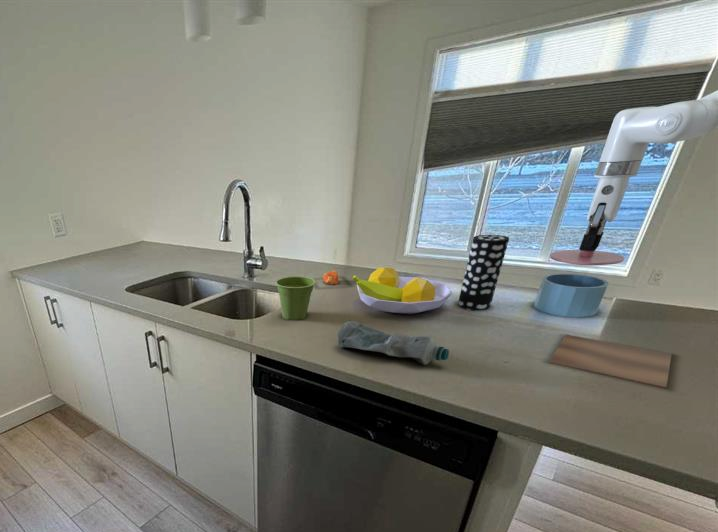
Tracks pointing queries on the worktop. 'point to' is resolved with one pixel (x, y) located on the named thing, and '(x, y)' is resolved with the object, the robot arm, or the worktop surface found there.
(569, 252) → the pink lid with handle
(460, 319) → the worktop surface
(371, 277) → the fruit bowl
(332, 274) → the raw meat
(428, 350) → the crushed plastic bottle
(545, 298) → the bowl
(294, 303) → the plant pot
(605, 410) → the worktop surface
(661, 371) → the wooden cutting board
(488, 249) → the spotted tube
